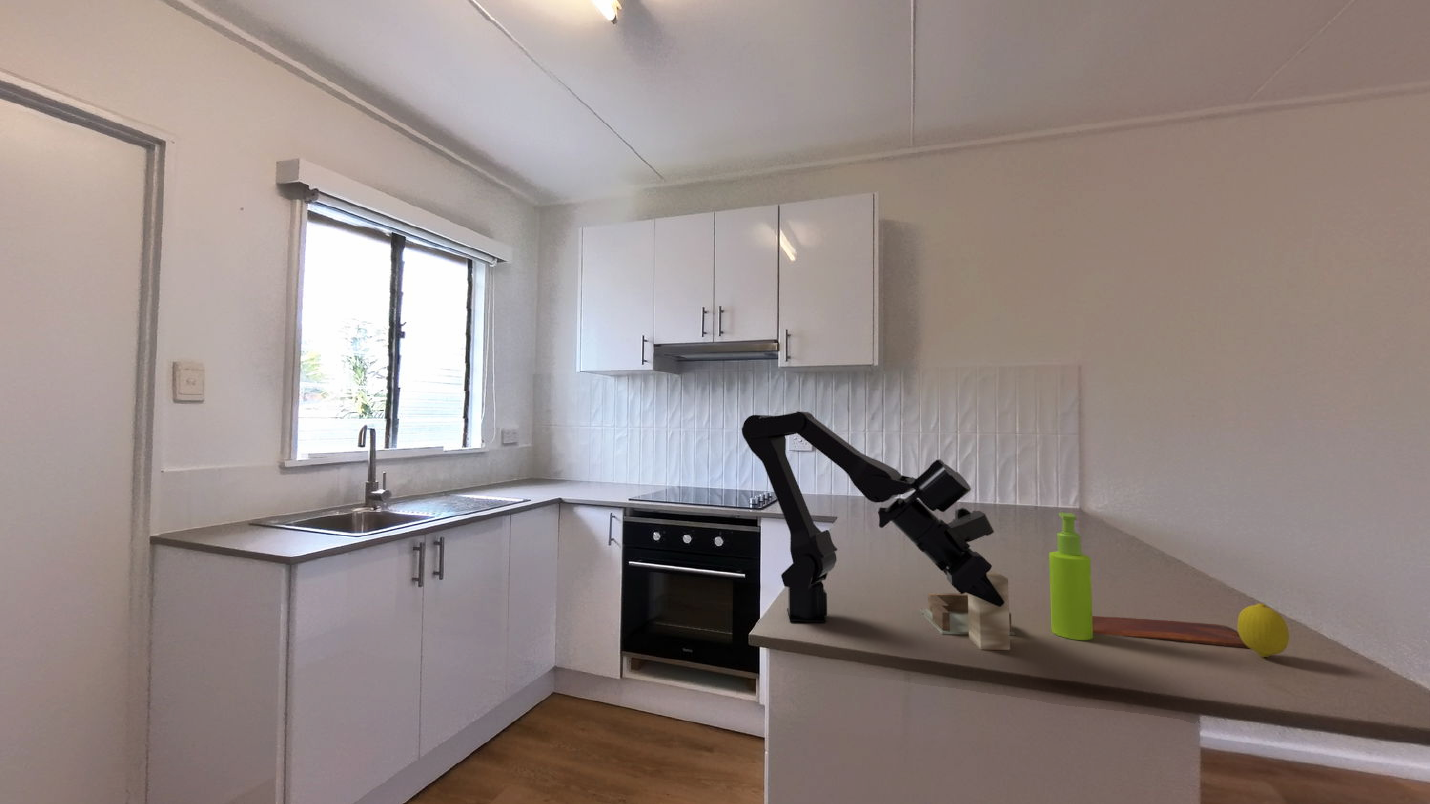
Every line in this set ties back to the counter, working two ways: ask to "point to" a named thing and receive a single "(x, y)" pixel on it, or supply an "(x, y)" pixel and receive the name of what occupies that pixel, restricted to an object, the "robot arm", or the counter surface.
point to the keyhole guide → (950, 613)
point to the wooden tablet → (1168, 630)
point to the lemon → (1263, 630)
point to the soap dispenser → (1070, 585)
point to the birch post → (990, 617)
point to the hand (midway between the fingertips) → (997, 599)
